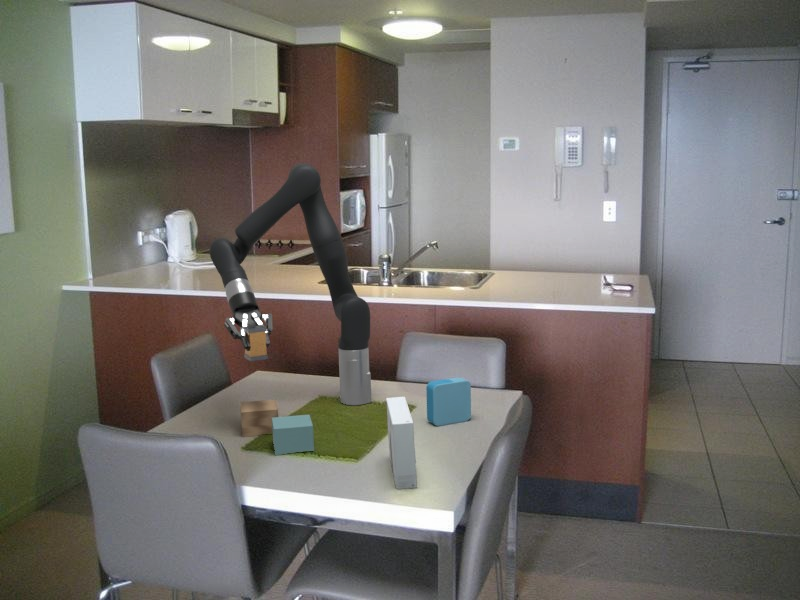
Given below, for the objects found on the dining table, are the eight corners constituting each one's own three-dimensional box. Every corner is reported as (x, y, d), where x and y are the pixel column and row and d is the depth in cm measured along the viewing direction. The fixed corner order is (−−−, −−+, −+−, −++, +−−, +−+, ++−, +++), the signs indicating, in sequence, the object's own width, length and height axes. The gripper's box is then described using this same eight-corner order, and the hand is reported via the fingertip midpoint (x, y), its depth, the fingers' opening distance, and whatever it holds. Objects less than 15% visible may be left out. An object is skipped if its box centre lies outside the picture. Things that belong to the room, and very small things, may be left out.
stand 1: (277, 422, 246) (275, 399, 244) (279, 433, 236) (277, 409, 235) (241, 425, 244) (240, 402, 242) (242, 437, 234) (240, 412, 233)
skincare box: (387, 457, 216) (385, 396, 213) (408, 456, 216) (407, 395, 213) (393, 489, 195) (392, 423, 192) (417, 488, 195) (416, 421, 193)
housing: (261, 355, 239) (260, 323, 237) (267, 358, 235) (266, 326, 233) (244, 357, 236) (242, 325, 235) (250, 361, 232) (248, 329, 231)
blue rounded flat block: (463, 416, 248) (463, 376, 246) (471, 420, 244) (471, 379, 242) (426, 422, 243) (425, 381, 241) (434, 427, 239) (433, 385, 237)
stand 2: (310, 439, 231) (309, 414, 229) (314, 451, 221) (313, 425, 220) (273, 442, 229) (271, 417, 228) (275, 455, 219) (273, 429, 218)
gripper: (219, 292, 235) (235, 343, 227) (268, 288, 242) (285, 337, 234) (214, 308, 241) (230, 359, 233) (262, 303, 248) (279, 352, 239)
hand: (258, 347), depth 233 cm, fingers closed on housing, 4 cm apart
